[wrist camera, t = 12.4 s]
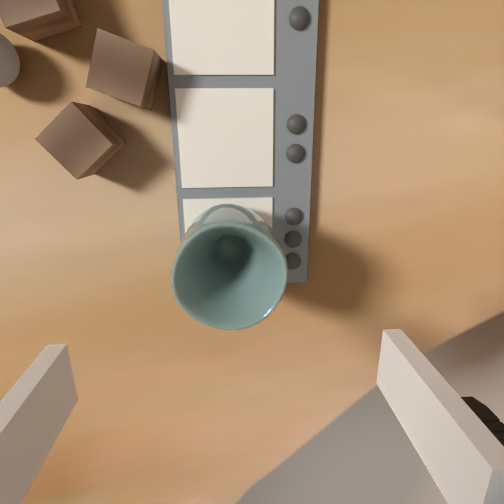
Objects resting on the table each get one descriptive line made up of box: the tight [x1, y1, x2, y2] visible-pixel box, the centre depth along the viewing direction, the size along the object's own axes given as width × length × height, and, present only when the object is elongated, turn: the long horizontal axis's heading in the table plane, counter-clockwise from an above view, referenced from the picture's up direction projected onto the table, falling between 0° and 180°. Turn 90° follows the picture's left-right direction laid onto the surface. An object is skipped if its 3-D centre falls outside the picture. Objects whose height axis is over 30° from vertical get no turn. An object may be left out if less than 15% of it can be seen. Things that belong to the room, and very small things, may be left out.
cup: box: [171, 204, 288, 330], centre depth 28 cm, size 8×8×10 cm
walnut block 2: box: [35, 102, 126, 179], centre depth 29 cm, size 4×4×4 cm
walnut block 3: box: [86, 28, 163, 110], centre depth 28 cm, size 4×4×4 cm
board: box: [162, 0, 319, 283], centre depth 31 cm, size 27×12×1 cm, turn 1°
